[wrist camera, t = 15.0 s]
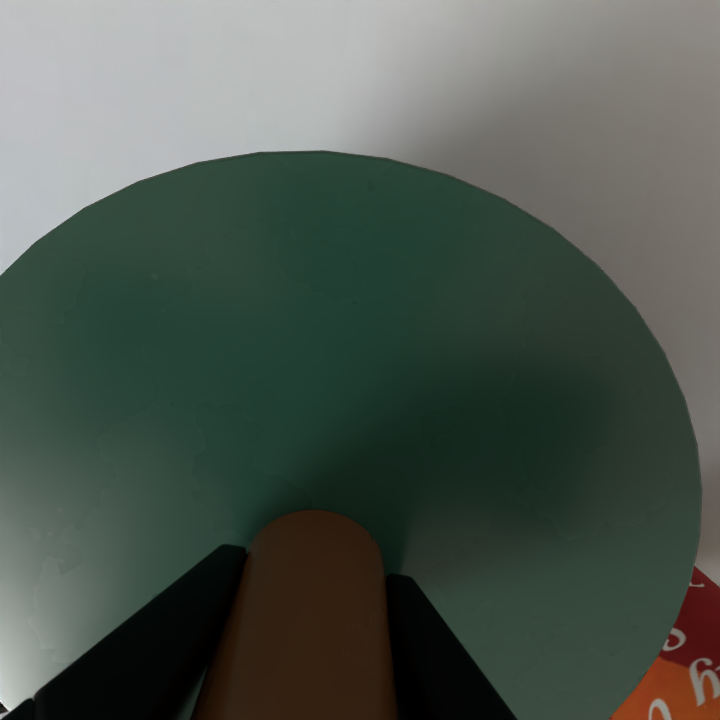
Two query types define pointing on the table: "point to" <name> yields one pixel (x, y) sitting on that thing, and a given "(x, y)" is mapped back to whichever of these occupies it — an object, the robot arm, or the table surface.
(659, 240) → the table surface
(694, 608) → the paper cup
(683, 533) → the pot lid
